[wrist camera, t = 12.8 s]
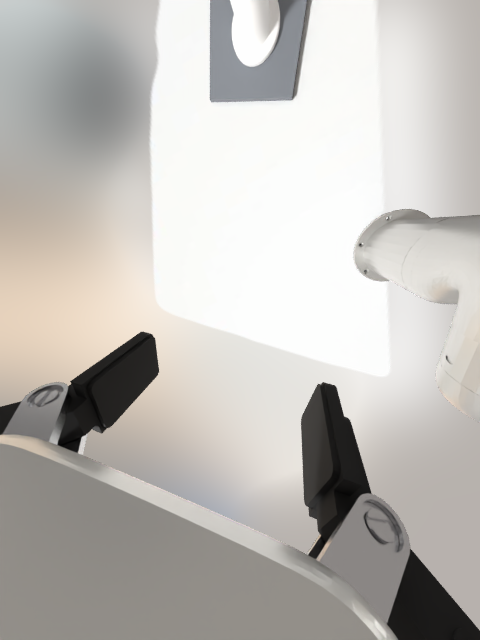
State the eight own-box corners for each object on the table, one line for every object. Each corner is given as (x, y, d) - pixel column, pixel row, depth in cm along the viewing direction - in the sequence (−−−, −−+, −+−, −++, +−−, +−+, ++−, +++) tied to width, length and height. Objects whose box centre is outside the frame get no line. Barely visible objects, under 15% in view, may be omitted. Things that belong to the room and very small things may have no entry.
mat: (316, -62, 23) (317, -70, 22) (292, 100, 30) (292, 97, 29) (212, -43, 25) (210, -51, 25) (211, 102, 32) (209, 99, 31)
